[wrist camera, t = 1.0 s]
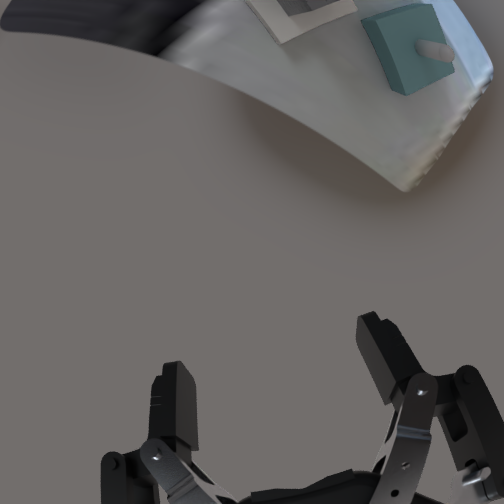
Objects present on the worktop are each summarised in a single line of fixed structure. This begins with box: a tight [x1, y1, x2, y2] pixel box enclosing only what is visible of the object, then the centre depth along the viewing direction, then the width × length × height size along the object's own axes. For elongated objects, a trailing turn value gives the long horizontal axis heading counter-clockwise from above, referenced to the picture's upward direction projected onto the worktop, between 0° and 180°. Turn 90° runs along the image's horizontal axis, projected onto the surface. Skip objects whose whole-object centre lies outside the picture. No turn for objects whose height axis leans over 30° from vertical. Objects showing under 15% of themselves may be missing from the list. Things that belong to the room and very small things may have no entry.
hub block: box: [361, 3, 455, 96], centre depth 19 cm, size 10×10×8 cm
